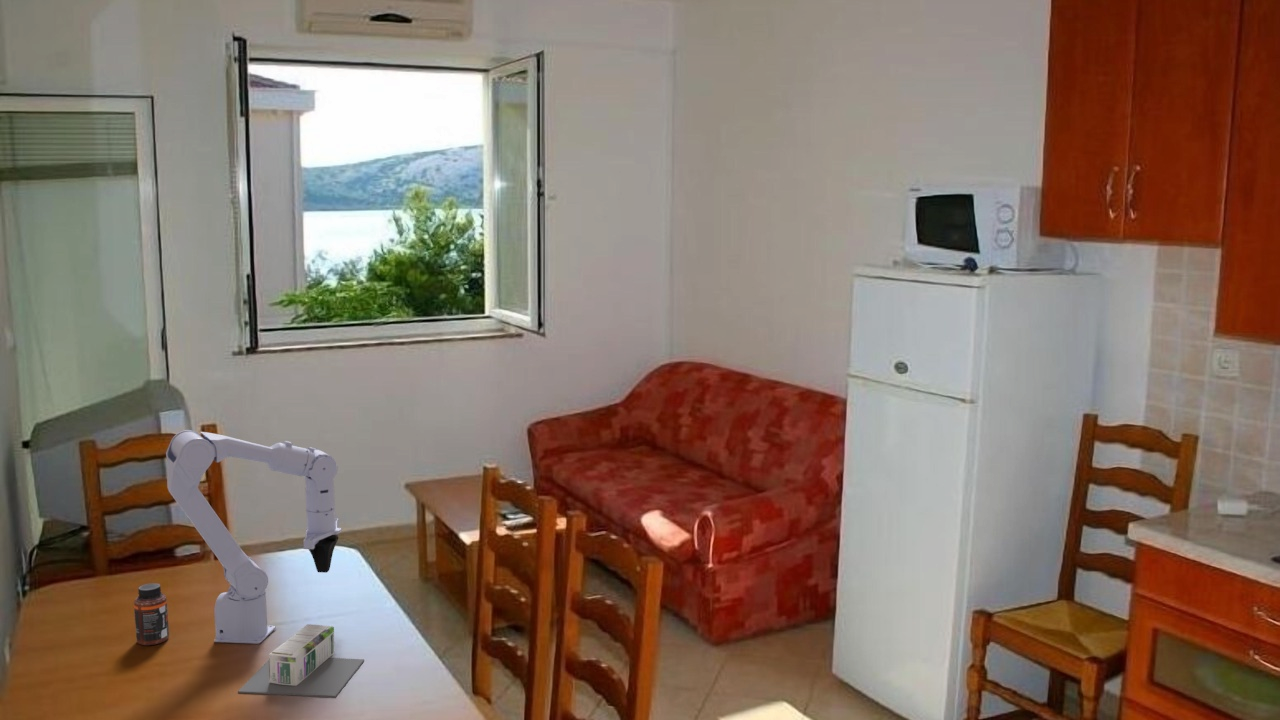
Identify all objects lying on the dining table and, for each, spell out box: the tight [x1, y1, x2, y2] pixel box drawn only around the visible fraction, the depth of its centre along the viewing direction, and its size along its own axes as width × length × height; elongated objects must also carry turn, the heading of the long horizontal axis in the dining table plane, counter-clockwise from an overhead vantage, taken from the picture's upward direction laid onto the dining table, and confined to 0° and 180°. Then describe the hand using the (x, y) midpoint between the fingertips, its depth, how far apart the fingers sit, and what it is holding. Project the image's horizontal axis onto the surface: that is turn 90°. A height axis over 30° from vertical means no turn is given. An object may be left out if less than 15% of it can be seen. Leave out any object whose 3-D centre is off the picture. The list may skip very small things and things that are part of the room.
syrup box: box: [267, 623, 335, 686], centre depth 200 cm, size 6×6×14 cm
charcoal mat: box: [237, 657, 365, 698], centre depth 197 cm, size 18×15×1 cm
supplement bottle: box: [133, 582, 170, 646], centre depth 212 cm, size 6×6×11 cm
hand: (323, 571), depth 222 cm, fingers closed
